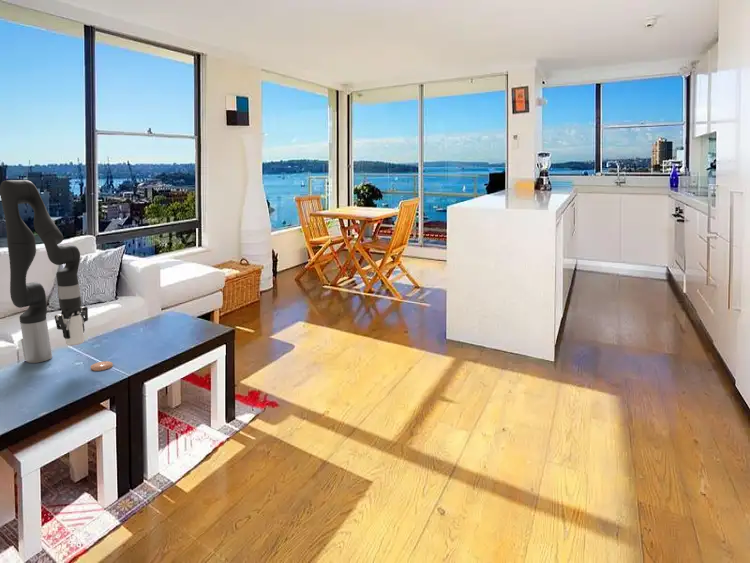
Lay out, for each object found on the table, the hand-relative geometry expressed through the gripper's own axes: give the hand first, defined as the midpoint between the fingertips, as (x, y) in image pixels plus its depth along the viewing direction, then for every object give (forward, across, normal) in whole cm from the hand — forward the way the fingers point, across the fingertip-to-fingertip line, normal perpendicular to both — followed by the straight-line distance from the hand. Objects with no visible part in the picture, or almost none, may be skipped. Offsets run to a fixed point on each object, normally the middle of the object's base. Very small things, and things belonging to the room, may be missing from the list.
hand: (74, 335), depth 202 cm
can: (+3, 0, 0) cm, 3 cm away
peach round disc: (+14, -3, +8) cm, 17 cm away
